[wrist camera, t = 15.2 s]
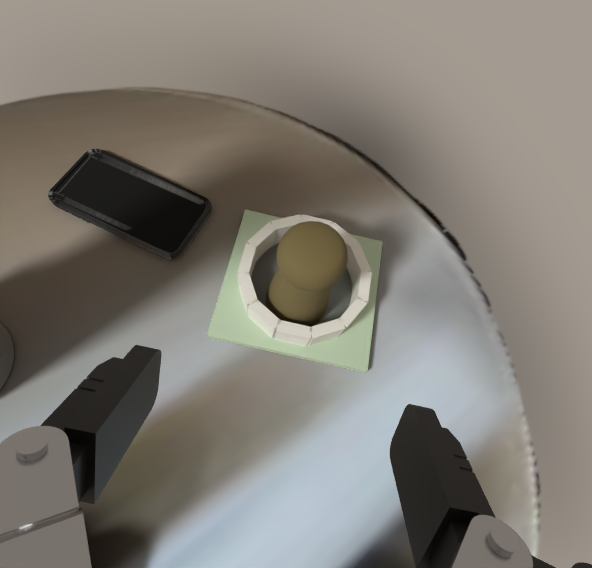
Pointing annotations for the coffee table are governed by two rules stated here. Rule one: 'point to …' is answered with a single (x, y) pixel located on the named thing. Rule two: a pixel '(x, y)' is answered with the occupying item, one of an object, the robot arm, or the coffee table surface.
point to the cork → (306, 272)
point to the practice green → (285, 335)
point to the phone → (131, 203)
